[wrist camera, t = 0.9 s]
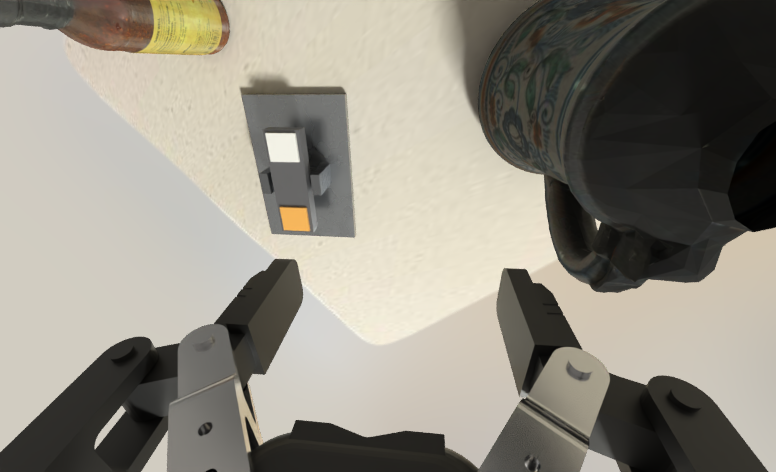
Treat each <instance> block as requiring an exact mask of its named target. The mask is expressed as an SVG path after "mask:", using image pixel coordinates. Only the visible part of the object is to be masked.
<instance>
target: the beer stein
mask: <svg viewBox="0 0 776 472" xmlns="http://www.w3.org/2000/svg"><path fill="white" fill-rule="evenodd" d="M478 110H479V118H480V123H481V126H482V130H483V132H484V135H485V137H486V139H487V141H488V142H489V144H490V145H491V147H492V148H493V149H494V151H495V152H496V153H497V154H498V155H499V156H500V157H501V158H503V159H504V160H505V161H507V162H508V163H509V164H511V165H513V166H514V167H516V168H519V169H521V170H524V171H526V172H531V173H535V174H543V175H544V183H545V201H546V210H547V217H548V223H549V230H550V234H551V238H552V242H553V245H554V248H555V251H556V254H557V257H558V260H559V261H560V263H561V264H562V265H563V267H564V268H565V269H566V270H567V271H568V273H569V274H570V275H572V276H573V277H575V278H576V279H578V280H579V281H581V282H584V283H586V284H589V285H590V286H591V288H592V289H593V290H594V291H596V292H603V293H605V292H616V293H618V292H621V291H625V290H628V289H631V288H638V287H640V286H641V285H642V284H643V283H644V282H645V281H646V280H648V279H652V280H664V281H675V282H685V283H687V282H699V281H701V280H702V279H704V278H705V277H706V276H708V275H709V274H710V273H711V272H712V271H713V270H714V269H715V267H716V264H717V261H718V258H719V255H720V252H721V250H722V247H723V246H724V245H725V244H726V243H728V242H730V241H731V240H733V239H735V238H736V237H738V236H740V235H741V234H743V233H745V232H746V231H751V232H756V231H761V230H766V229H771V228H775V227H776V0H541V1H539V2H537V3H535V4H534V5H533V6H531V7H530V8H529V9H528V10H526V11H525V12H524V13H523V14H521V15H520V16H519V17H518V18H517V19H516V20H515V21H514V22H513V24H512V25H511V26H510V27H509V28H508V29H507V30H506V32H505V33H504V34H503V36H502V37H501V38H500V40H499V41H498V43H497V44H496V46H495V48H494V49H493V51H492V53H491V55H490V57H489V59H488V61H487V63H486V66H485V69H484V72H483V75H482V78H481V82H480V86H479V96H478ZM595 218H596V219H597V220H598V221H600V222H601V224H600V227H599V230H597V227H596V222H595Z"/></svg>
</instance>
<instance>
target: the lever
mask: <svg viewBox="0 0 776 472" xmlns="http://www.w3.org/2000/svg"><path fill="white" fill-rule="evenodd" d="M262 131H263V136H264V142H265V147H266V152H267V157H268V162H269V167H270V172H271V177H272V182H273V187H274V192H275V197H276V202H277V207H278V212H279V217H280V222H281V227H282V231H293V232H314V231H315V230H316V228H317V227H318V225H317V217H316V210H315V203H314V195H313V192H312V185H311V177H310V175H311V173H310V165H309V158H308V151H307V143H306V136H305V128H304V127H268V128H265V129H263V130H262Z"/></svg>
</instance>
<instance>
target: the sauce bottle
mask: <svg viewBox="0 0 776 472" xmlns="http://www.w3.org/2000/svg"><path fill="white" fill-rule="evenodd" d="M13 25H27V26H38V27H42V28H44V29H49V30H52V29H58V30H60V31H61V32H62V33H64V34H65V35H67V36H68V37H70V38H71V39H73V40H75V41H77V42H79V43H81V44H83V45H86V46H89V47H92V48H95V49H99V50H107V51H125V52H130V53H151V54H181V55H206V54H214V53H217V52H219V51H220V50H222V48H223V47H224V46H225V45H226V43H227V41H228V38H229V33H230V30H229V21H228V17H227V14H226V11H225V9H224V7H223V5H222V4H221V2H220V1H219V0H0V27H11V26H13Z"/></svg>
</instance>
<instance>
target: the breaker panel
mask: <svg viewBox="0 0 776 472" xmlns="http://www.w3.org/2000/svg"><path fill="white" fill-rule="evenodd" d="M242 99H243V104H244V109H245V113H246V118H247V122H248V127H249V132H250V136H251V141H252V145H253V150H254V155H255V159H256V164H257V168H258V173H259V177H260V182H261V187H262V191H263V196H264V200H265V205H266V210H267V214H268V219H269V223H270V228H271V233H272V234H287V235H310V236H333V237H355V236H356V227H355V212H354V198H353V183H352V169H351V154H350V140H349V125H348V111H347V96H346V94H244V95H242ZM268 127H304V128H305V136H306V143H307V151H308V158H309V165H310V173H311V175H310V177H311V185H312V192H313V195H314V203H315V210H316V217H317V225H318V227H317V228H316V230H315V231H314V232H293V231H282V227H281V222H280V217H279V212H278V207H277V202H276V197H275V192H274V187H273V182H272V177H271V172H270V167H269V162H268V157H267V152H266V147H265V142H264V136H263V131H262V130H263V129H265V128H268Z"/></svg>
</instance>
